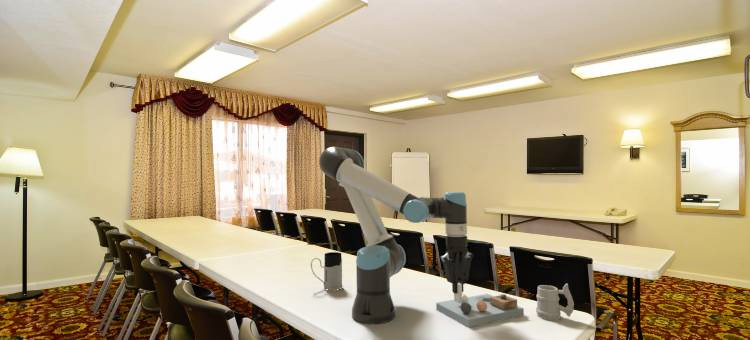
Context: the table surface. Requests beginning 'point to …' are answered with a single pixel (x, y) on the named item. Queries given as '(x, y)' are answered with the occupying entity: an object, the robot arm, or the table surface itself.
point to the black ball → (465, 307)
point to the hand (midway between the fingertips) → (458, 301)
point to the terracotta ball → (481, 306)
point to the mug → (552, 302)
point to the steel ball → (464, 299)
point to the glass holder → (332, 271)
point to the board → (477, 311)
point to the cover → (503, 302)
